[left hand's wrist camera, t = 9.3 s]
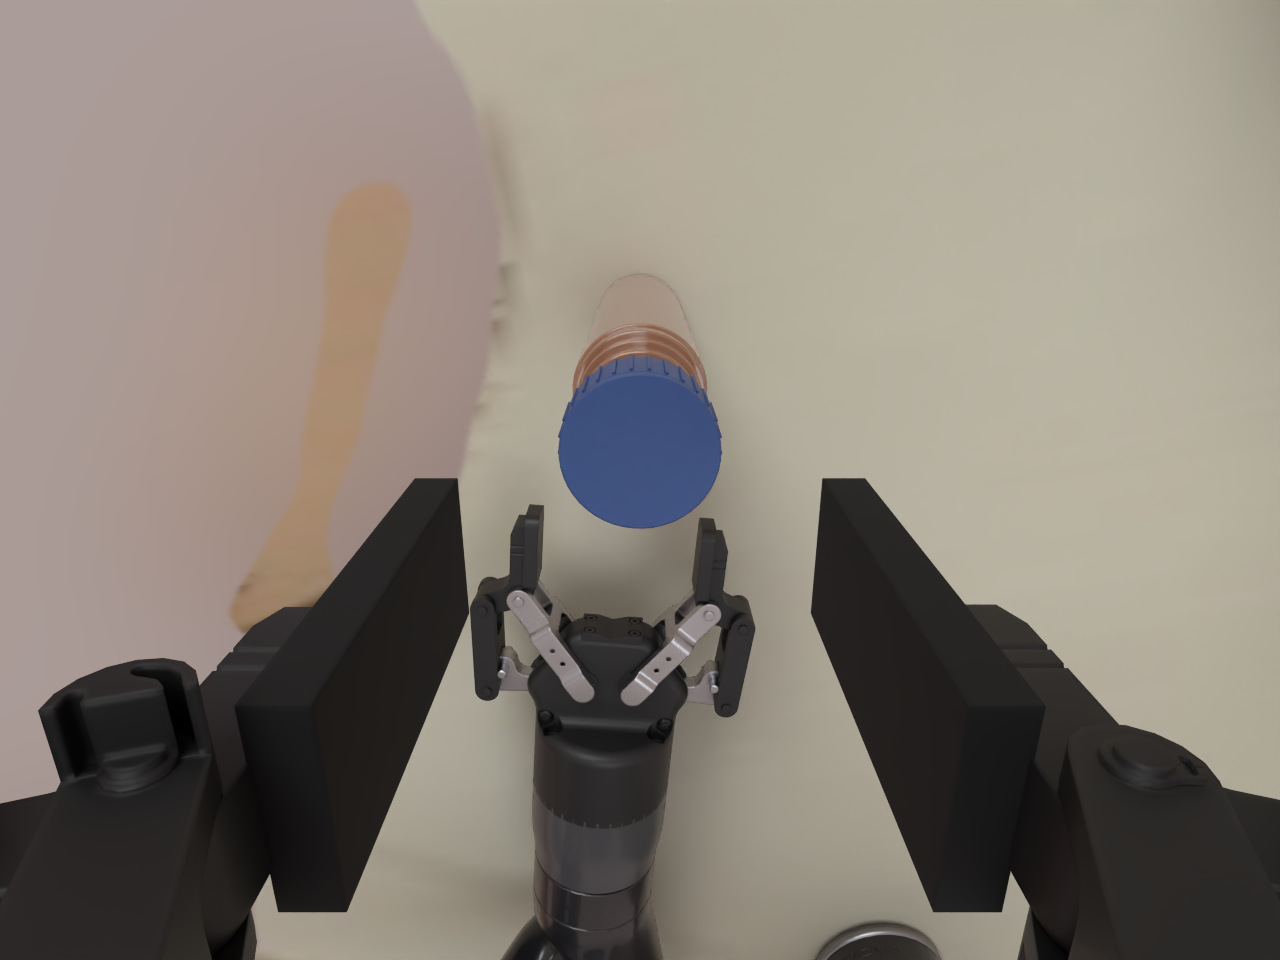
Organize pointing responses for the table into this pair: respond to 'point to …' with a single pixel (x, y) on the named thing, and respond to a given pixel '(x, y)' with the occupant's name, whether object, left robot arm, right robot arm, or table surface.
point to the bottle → (639, 329)
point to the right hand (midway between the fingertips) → (621, 517)
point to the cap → (639, 443)
